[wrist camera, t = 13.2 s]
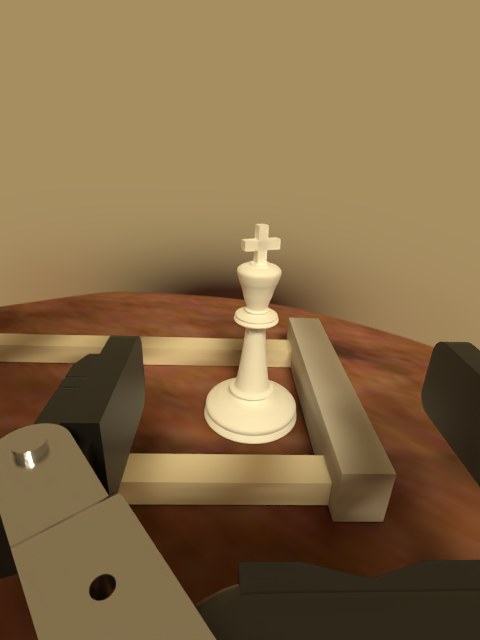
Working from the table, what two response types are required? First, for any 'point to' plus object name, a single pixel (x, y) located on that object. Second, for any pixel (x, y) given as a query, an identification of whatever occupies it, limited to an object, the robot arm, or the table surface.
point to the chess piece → (253, 359)
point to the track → (253, 470)
